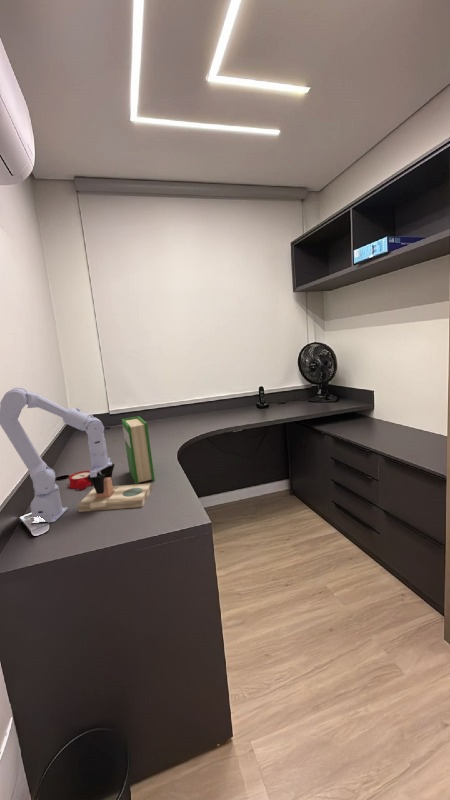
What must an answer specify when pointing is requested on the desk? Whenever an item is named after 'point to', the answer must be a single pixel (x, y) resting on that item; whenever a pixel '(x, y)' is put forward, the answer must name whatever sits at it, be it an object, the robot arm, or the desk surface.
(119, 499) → the pocket board
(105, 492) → the peg
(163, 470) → the desk surface
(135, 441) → the hardback book
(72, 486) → the alarm clock
